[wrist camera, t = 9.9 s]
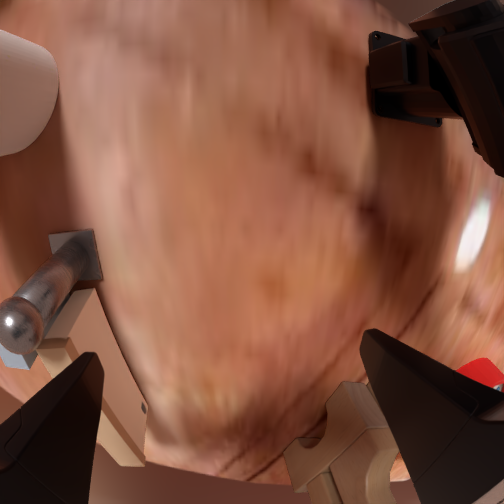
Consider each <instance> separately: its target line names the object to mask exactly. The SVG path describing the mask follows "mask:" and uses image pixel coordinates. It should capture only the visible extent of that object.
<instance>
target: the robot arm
mask: <svg viewBox="0 0 504 504" xmlns="http://www.w3.org/2000/svg"><path fill="white" fill-rule="evenodd" d="M408 24H409V26H410V27H411V29H412V30H413V32H416V33H417V35H418V36H416V37H413V38H410V39H403V38H400V37H396V36H393V35H390V34H386V33H383V32H379V31H374V32H371V33H370V34H369V44H370V53H369V70H370V86H371V87H372V112H373V114H374V115H375V116H378V117H384V118H391V119H397V120H402V121H408V122H413V123H419V124H424V125H428V126H433V127H440V126H441V124H442V118H450V119H463V120H464V122H465V124H466V126H467V129H468V131H469V134H470V136H471V139H472V141H473V143H472V145H473V148H474V150H475V152H476V153H478V154H479V155H481V156H482V157H483V160H484V161H485V162H486V163H487V164H488V165H489V166H490V167H492V168H493V169H494V172H495V174H496V175H498V176H501V177H503V178H504V5H503V4H502V2H501V0H454V1H451V2H449V3H446V4H444V5H442V6H440V7H438V8H436V9H434V10H432V11H430V12H428V13H426V14H425V15H423V16H421V17H419V18H417V19H415V20H414V21H412V22H410V23H408ZM375 36H377V37H378V40H377V39H376V38H375ZM378 107H380V108H381V112H380V113H379V111H378ZM435 120H437V122H436V121H435ZM360 356H361V358H362V361H363V364H364V367H365V370H366V373H367V376H368V379H369V382H370V385H371V388H372V390H373V393H374V395H375V397H376V399H377V401H378V404H379V406H380V408H381V410H382V412H383V415H384V417H385V419H386V421H387V423H388V426H389V428H390V430H391V432H392V435H393V437H394V439H395V442H396V444H397V446H398V448H399V451H400V453H401V455H402V458H403V460H404V463H405V465H406V467H407V470H408V472H409V475H410V477H411V479H412V482H413V483H414V487H415V489H416V492H417V495H418V497H419V500H420V502H421V504H504V392H501V391H499V390H497V389H494V388H492V387H489V386H487V385H484V384H482V383H480V382H477V381H475V380H473V379H471V378H469V377H467V376H465V375H463V374H461V373H459V372H457V371H455V370H452V369H451V368H449V367H447V366H446V365H444V364H442V363H440V362H438V361H436V360H434V359H432V358H430V357H429V356H427V355H425V354H423V353H421V352H419V351H417V350H415V349H413V348H412V347H410V346H408V345H406V344H404V343H402V342H400V341H398V340H397V339H395V338H393V337H391V336H389V335H387V334H385V333H384V332H382V331H380V330H378V329H375V328H373V329H368V330H365V331H364V333H363V336H362V341H361V345H360ZM104 377H105V373H104V369H103V366H102V364H101V362H100V359H99V357H98V355H97V353H96V352H84V353H83V354H81V355H80V356H79V357H78V358H77V359H75V360H74V361H73V362H72V363H71V364H70V365H68V366H67V367H66V368H65V369H64V370H63V371H61V372H60V373H59V374H58V375H57V376H56V377H54V378H53V379H52V380H51V381H50V382H49V383H48V384H46V385H45V386H44V387H43V388H42V389H41V390H40V391H38V392H37V393H36V394H35V395H34V396H33V397H32V398H30V399H29V400H28V401H27V402H26V403H25V404H24V405H23V406H21V409H18V410H17V411H16V412H15V413H14V414H12V415H11V416H10V417H9V418H8V419H7V420H5V421H4V422H3V423H2V424H0V504H88V501H89V490H90V482H91V474H92V466H93V459H94V452H95V445H96V440H97V434H98V428H99V422H100V417H101V409H102V397H103V386H104Z"/></svg>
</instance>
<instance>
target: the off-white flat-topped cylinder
mask: <svg viewBox="0 0 504 504" xmlns="http://www.w3.org/2000/svg"><path fill="white" fill-rule="evenodd" d="M58 87H59V76H58V69H57V65H56V63H55V60H54V58H53V57H52V55H51V54H50V53H49V52H48V51H47V50H46V49H45V48H43V47H41V46H39V45H37V44H35V43H32V42H30V41H28V40H25V39H23V38H20V37H18V36H15V35H13V34H10V33H8V32H5V31H3V30H0V156H4V155H9V154H14V153H17V152H19V151H21V150H23V149H25V148H26V147H28V146H29V145H30V144H31V143H33V142H34V141H35V140H36V139H37V137H38V136H39V135H40V134H41V132H42V131H43V130H44V128H45V126H46V125H47V123H48V121H49V119H50V117H51V115H52V112H53V110H54V107H55V103H56V100H57V95H58Z"/></svg>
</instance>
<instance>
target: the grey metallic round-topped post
mask: <svg viewBox="0 0 504 504" xmlns="http://www.w3.org/2000/svg"><path fill="white" fill-rule="evenodd" d="M48 237H49V242H50V246H51V251H52V256H51V257H50V258H49V259H48V260H47V261H45V262H44V263H43V264H42V265H41V266H40V267H39V269H38V270H37V271H36V272H35V273H34V274H33V275H32V276H31V277H30V278H29V279H28V280H27V281H26V282H25V283H24V284H23V285H22V286H21V287H20V288H19V289H18V291H17V292H16V293H15V294H14V295H13V296H12V297H10V298H7V299H6V300H4V301H3V302H2V303H1V304H0V343H1V345H2V346H3V347H4V348H5V349H7V350H8V351H10V352H12V353H14V354H18V355H24V354H29V353H31V352H33V351H34V350H36V349H37V348H38V346H39V345H40V344H41V342H42V339H43V336H44V329H45V328H46V326H47V325H48V323H49V322H50V320H51V318H52V317H53V315H54V314H55V312H56V311H57V309H58V308H59V306H60V305H61V303H62V302H63V300H64V299H65V298H66V296H67V295H68V293H69V292H70V290H71V289H72V287H73V286H74V285H75V283H76V282H77V281H79V280H98V279H102V278H103V276H102V272H101V268H100V263H99V258H98V253H97V248H96V243H95V238H94V232H93V229H86V230H77V231H68V232H59V233H50V234H49V235H48Z"/></svg>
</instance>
